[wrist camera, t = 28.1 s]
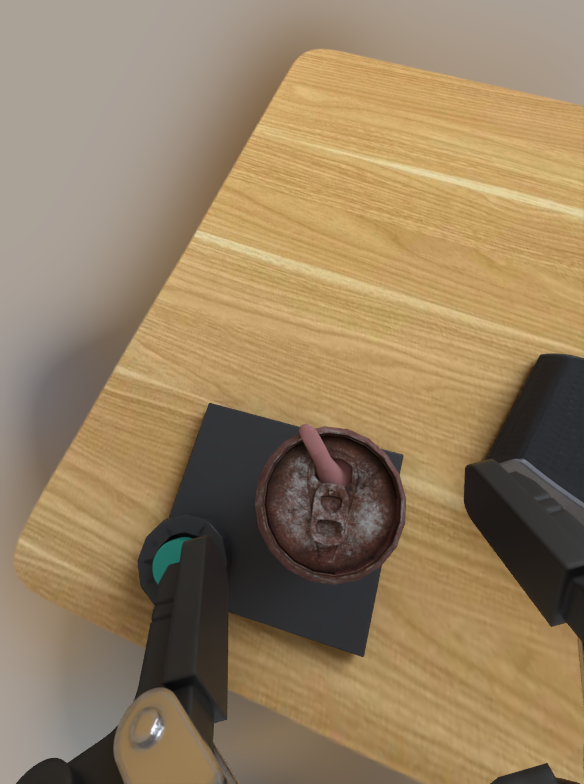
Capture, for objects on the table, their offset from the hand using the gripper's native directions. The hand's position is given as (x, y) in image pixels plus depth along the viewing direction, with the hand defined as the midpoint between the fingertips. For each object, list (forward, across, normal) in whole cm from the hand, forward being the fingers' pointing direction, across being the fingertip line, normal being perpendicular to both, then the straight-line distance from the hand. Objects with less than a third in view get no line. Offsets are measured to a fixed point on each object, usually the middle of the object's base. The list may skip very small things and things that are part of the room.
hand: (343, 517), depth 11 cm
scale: (+13, -3, -13) cm, 18 cm away
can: (+12, 0, -11) cm, 17 cm away
